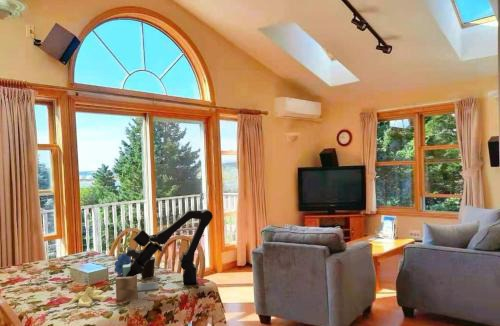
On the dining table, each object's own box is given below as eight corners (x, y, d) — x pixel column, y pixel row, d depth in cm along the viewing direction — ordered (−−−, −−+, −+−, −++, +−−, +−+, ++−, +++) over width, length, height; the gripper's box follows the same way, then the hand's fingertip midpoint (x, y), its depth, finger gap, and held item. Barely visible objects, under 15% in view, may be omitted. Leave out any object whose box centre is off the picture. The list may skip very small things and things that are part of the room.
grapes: (126, 270, 229) (125, 250, 229) (134, 271, 225) (133, 251, 225) (109, 275, 219) (109, 254, 219) (117, 277, 215) (117, 255, 215)
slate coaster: (157, 283, 203) (157, 282, 203) (158, 289, 193) (158, 288, 193) (137, 285, 200) (137, 284, 200) (137, 291, 190) (137, 290, 190)
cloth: (97, 290, 196) (97, 278, 196) (118, 297, 185) (118, 284, 185) (52, 304, 179) (52, 290, 179) (73, 313, 167) (72, 298, 167)
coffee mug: (151, 278, 211) (151, 260, 211) (136, 278, 213) (136, 260, 213) (160, 272, 222) (160, 255, 222) (146, 272, 224) (146, 254, 224)
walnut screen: (137, 297, 182) (136, 276, 182) (136, 299, 180) (135, 277, 180) (117, 298, 182) (117, 277, 182) (116, 300, 179) (115, 278, 179)
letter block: (134, 287, 197) (133, 263, 197) (134, 290, 192) (133, 266, 192) (123, 288, 196) (123, 264, 196) (123, 292, 191) (122, 267, 191)
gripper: (136, 238, 204) (114, 261, 201) (135, 246, 186) (111, 271, 183) (152, 252, 206) (130, 275, 203) (152, 260, 188) (129, 286, 185)
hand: (125, 276), depth 194 cm, fingers open, 7 cm apart
